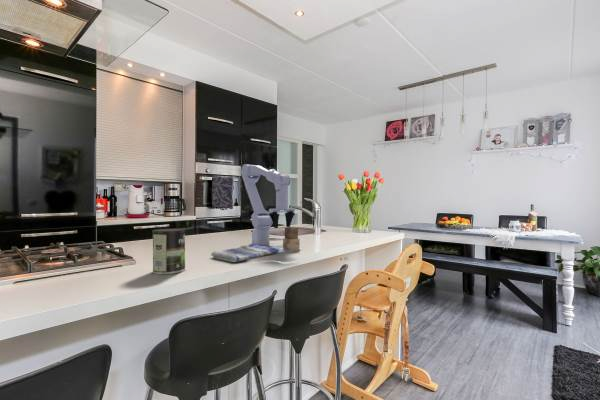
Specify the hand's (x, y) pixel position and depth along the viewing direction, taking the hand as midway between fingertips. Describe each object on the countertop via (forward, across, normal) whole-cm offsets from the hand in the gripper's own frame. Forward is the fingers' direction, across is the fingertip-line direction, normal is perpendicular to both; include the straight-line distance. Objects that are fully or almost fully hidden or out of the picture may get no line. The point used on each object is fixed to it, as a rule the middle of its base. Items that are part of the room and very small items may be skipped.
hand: (282, 227), depth 147 cm
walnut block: (+5, 0, -7) cm, 8 cm away
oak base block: (+10, 0, -7) cm, 12 cm away
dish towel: (+10, -23, -4) cm, 26 cm away
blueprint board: (+10, -4, -3) cm, 11 cm away
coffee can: (+11, -56, -9) cm, 58 cm away
